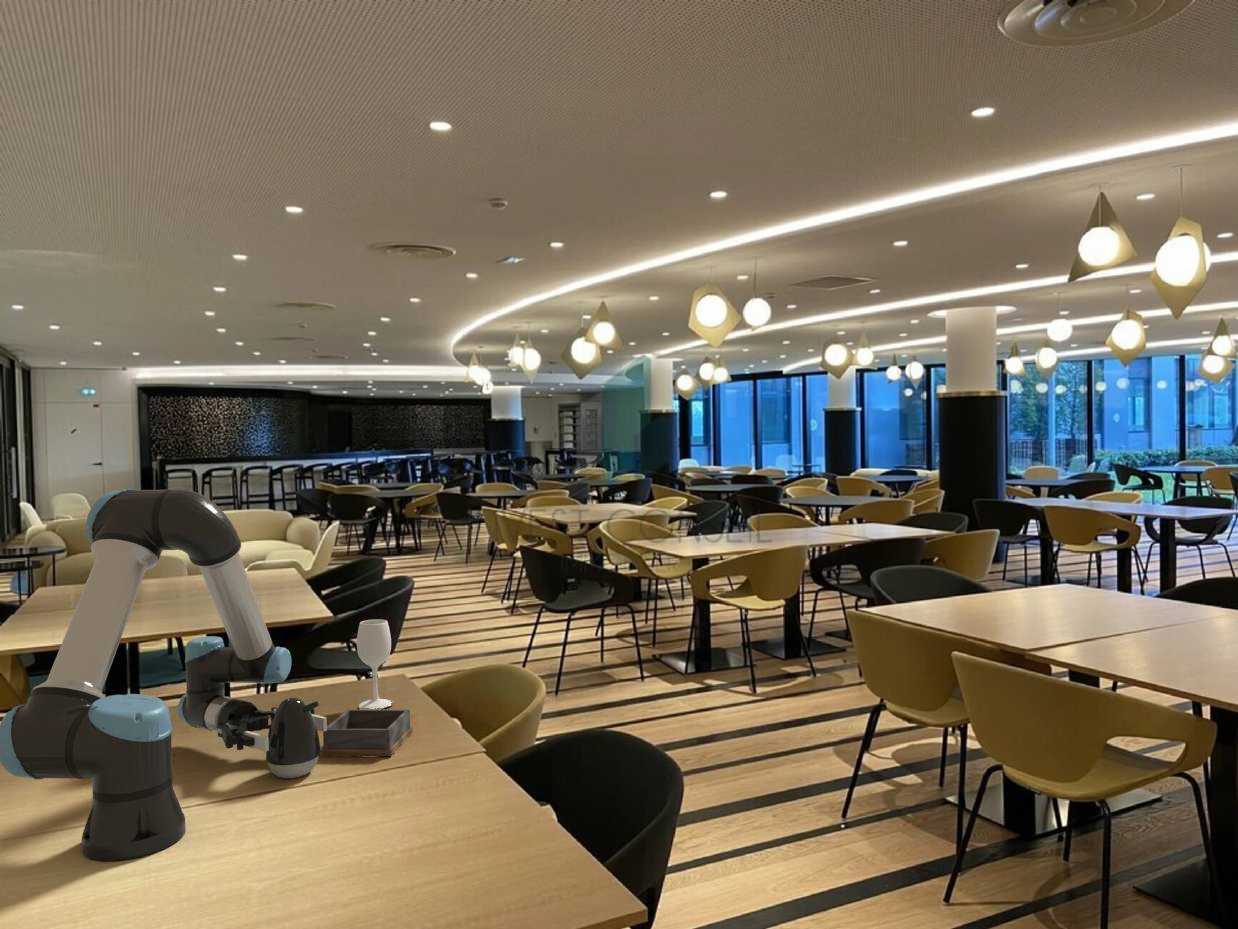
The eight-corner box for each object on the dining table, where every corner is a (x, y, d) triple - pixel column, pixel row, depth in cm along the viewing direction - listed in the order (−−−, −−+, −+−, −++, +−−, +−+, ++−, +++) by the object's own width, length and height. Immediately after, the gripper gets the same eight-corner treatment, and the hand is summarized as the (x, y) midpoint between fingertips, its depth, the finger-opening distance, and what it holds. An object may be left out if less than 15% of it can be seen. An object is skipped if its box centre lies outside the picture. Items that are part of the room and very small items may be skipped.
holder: (391, 757, 186) (390, 730, 186) (320, 756, 187) (320, 730, 187) (412, 733, 201) (412, 709, 201) (347, 733, 202) (346, 709, 202)
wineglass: (398, 701, 227) (396, 618, 226) (386, 711, 218) (384, 625, 217) (365, 700, 227) (363, 618, 227) (351, 711, 219) (349, 625, 218)
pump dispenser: (311, 783, 173) (308, 705, 172) (257, 784, 173) (255, 705, 172) (329, 764, 183) (327, 690, 182) (278, 764, 183) (276, 690, 183)
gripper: (284, 719, 200) (348, 734, 188) (176, 752, 179) (240, 772, 167) (283, 685, 200) (347, 699, 188) (175, 715, 179) (239, 733, 167)
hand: (297, 734), depth 178 cm, fingers open, 13 cm apart
